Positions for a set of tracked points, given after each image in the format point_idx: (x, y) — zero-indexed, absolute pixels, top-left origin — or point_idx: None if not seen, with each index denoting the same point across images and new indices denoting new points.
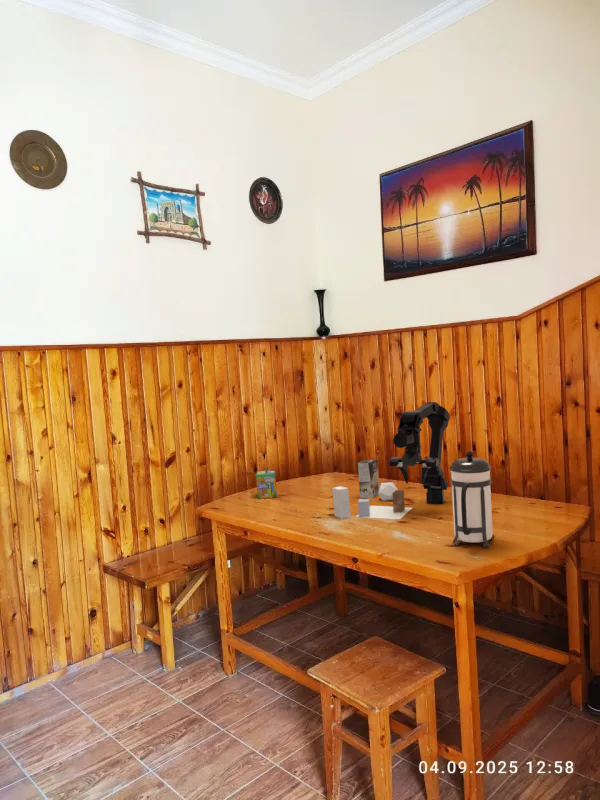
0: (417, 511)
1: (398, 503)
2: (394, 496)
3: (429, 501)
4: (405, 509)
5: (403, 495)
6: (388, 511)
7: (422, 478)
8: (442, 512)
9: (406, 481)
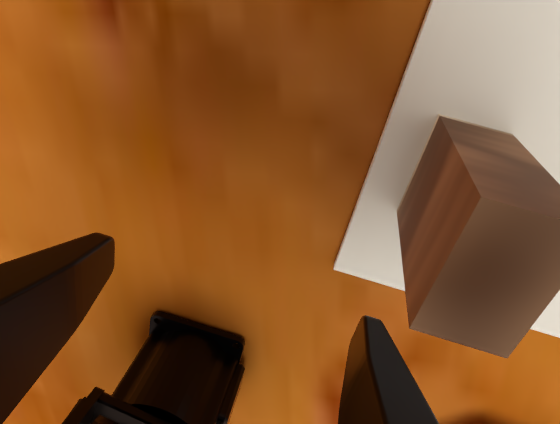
0: (299, 202)
1: (480, 151)
2: (552, 198)
3: (225, 360)
4: (390, 229)
5: (414, 274)
6: None
7: (17, 278)
8: (125, 158)
9: (376, 340)
